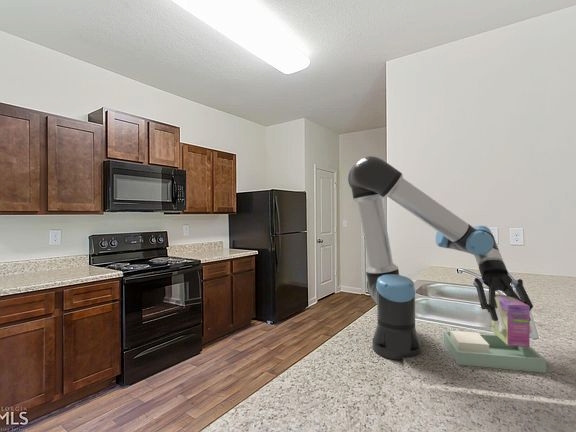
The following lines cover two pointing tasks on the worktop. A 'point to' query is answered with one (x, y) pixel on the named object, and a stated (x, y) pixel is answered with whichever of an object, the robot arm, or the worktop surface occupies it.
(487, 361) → the tote
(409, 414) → the worktop surface
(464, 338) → the carton
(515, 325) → the box
